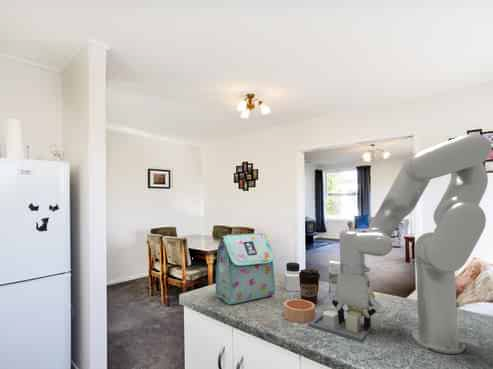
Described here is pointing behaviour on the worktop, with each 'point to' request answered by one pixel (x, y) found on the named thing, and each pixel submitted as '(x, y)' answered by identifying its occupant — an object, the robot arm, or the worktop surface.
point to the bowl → (299, 310)
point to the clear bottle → (333, 275)
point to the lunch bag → (244, 268)
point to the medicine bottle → (292, 277)
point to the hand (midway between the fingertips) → (353, 325)
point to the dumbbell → (359, 310)
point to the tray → (341, 329)
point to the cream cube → (353, 321)
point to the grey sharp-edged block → (330, 319)
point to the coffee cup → (309, 285)
